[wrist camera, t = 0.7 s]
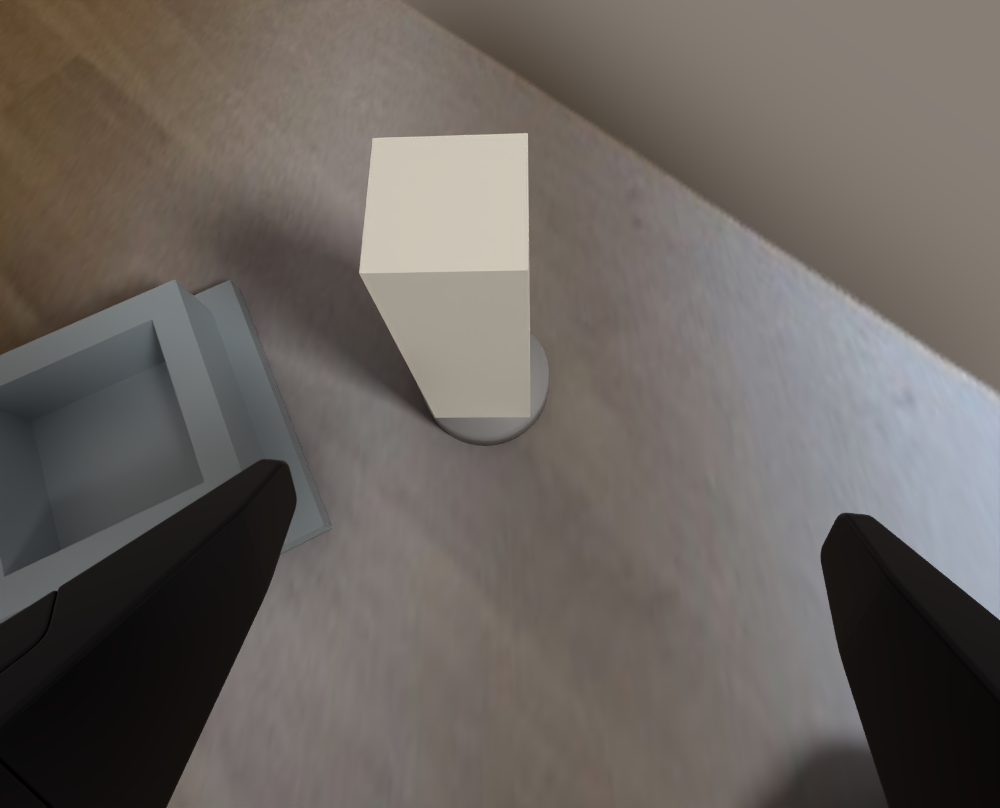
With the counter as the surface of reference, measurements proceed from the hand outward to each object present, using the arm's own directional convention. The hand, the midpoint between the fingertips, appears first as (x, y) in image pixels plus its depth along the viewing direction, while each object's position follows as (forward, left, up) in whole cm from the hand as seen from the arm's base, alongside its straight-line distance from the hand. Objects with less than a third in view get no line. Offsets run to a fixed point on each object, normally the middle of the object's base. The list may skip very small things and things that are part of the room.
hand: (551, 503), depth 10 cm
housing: (-6, +19, -15) cm, 25 cm away
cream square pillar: (+6, +6, -15) cm, 17 cm away
